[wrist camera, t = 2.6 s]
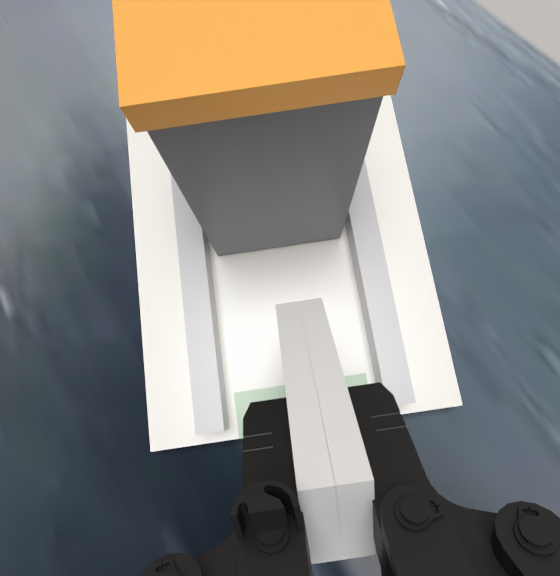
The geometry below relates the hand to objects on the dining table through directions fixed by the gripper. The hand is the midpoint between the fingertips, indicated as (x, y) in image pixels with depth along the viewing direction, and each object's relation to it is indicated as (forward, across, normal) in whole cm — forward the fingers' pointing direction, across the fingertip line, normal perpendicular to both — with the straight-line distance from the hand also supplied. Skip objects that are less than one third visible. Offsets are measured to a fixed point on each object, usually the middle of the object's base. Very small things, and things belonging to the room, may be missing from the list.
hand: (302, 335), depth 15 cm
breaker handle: (+9, 0, +1) cm, 9 cm away
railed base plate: (+11, 0, 0) cm, 11 cm away
